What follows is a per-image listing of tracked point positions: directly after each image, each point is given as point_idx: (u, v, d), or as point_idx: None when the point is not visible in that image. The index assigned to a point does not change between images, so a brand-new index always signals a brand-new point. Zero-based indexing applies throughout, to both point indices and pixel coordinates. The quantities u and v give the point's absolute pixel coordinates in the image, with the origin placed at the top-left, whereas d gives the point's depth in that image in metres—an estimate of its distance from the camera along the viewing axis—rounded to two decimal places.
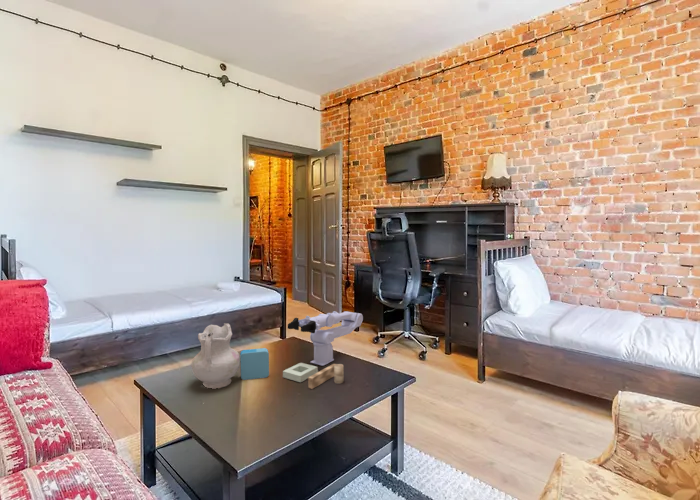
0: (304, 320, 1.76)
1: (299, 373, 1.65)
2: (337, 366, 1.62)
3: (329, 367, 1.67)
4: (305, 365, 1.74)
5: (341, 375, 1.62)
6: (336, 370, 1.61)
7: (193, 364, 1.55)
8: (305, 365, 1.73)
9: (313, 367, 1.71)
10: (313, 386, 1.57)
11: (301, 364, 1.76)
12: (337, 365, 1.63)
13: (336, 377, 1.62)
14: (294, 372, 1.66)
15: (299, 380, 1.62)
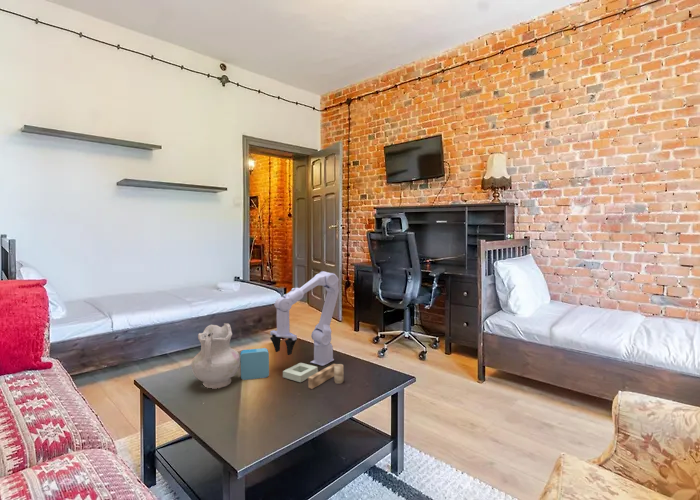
0: None
1: (299, 373, 1.65)
2: (337, 366, 1.62)
3: (329, 367, 1.67)
4: (305, 365, 1.74)
5: (341, 375, 1.62)
6: (336, 370, 1.61)
7: (193, 364, 1.55)
8: (305, 365, 1.73)
9: (313, 367, 1.71)
10: (313, 386, 1.57)
11: (301, 364, 1.76)
12: (337, 365, 1.63)
13: (336, 377, 1.62)
14: (294, 372, 1.66)
15: (299, 380, 1.62)
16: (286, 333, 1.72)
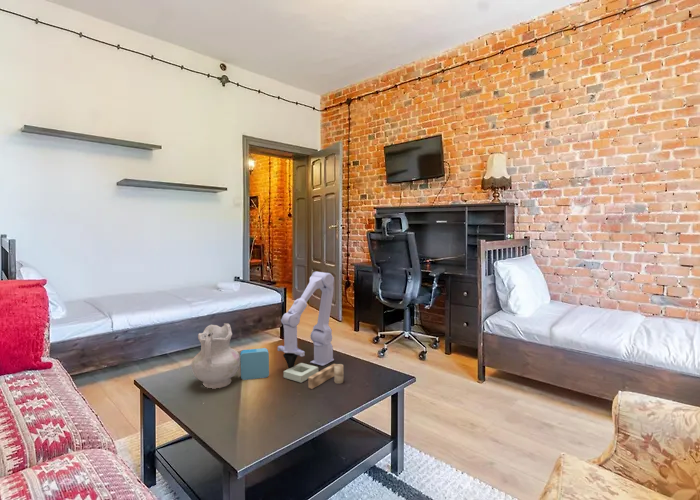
0: None
1: (300, 373, 1.64)
2: (337, 366, 1.62)
3: (329, 367, 1.67)
4: (306, 365, 1.74)
5: (341, 375, 1.62)
6: (336, 370, 1.61)
7: (193, 364, 1.55)
8: (306, 366, 1.73)
9: (314, 368, 1.71)
10: (313, 386, 1.57)
11: (302, 364, 1.75)
12: (337, 365, 1.63)
13: (336, 377, 1.62)
14: (295, 372, 1.66)
15: (300, 380, 1.62)
16: (294, 349, 1.70)
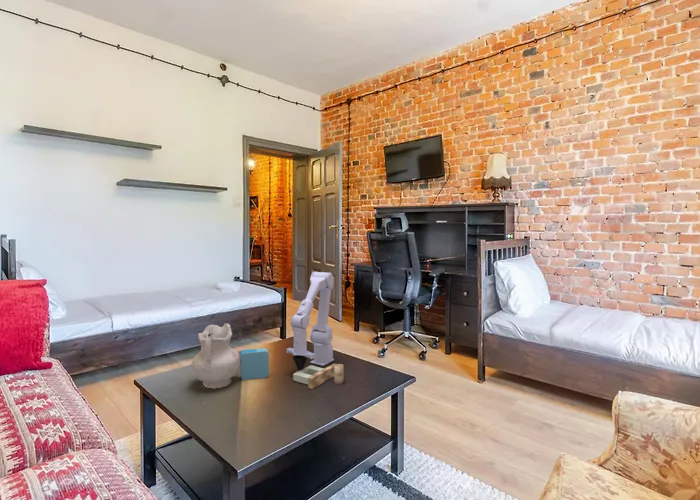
0: None
1: None
2: (337, 366, 1.62)
3: (329, 367, 1.67)
4: (315, 368, 1.71)
5: (341, 375, 1.62)
6: (336, 370, 1.61)
7: (193, 364, 1.55)
8: (316, 368, 1.70)
9: None
10: (313, 386, 1.57)
11: (311, 366, 1.72)
12: (337, 365, 1.63)
13: (336, 377, 1.62)
14: (305, 375, 1.63)
15: None
16: (303, 351, 1.67)
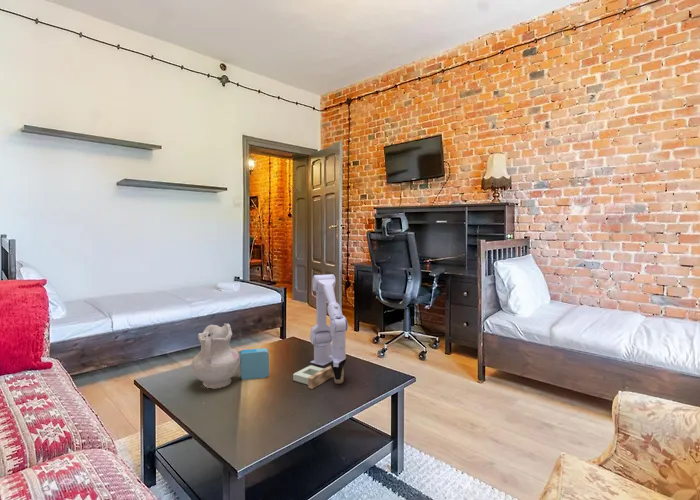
0: None
1: None
2: None
3: (329, 367, 1.67)
4: (315, 368, 1.71)
5: (341, 375, 1.62)
6: None
7: (193, 364, 1.55)
8: (316, 368, 1.70)
9: None
10: (313, 386, 1.57)
11: (311, 366, 1.72)
12: None
13: None
14: (305, 375, 1.63)
15: None
16: (335, 357, 1.60)
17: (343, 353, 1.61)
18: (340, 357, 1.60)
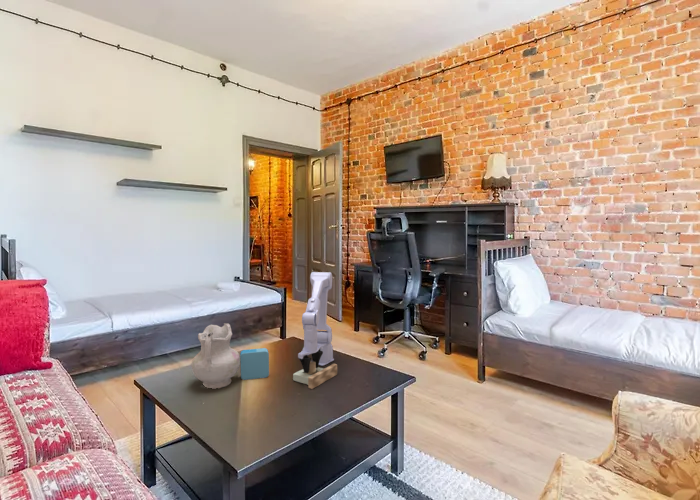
0: None
1: None
2: None
3: (329, 367, 1.67)
4: None
5: (311, 372, 1.64)
6: None
7: (193, 364, 1.55)
8: (316, 368, 1.70)
9: None
10: (313, 386, 1.57)
11: None
12: (310, 362, 1.67)
13: None
14: (305, 375, 1.63)
15: None
16: (305, 349, 1.64)
17: (312, 346, 1.63)
18: (309, 350, 1.63)
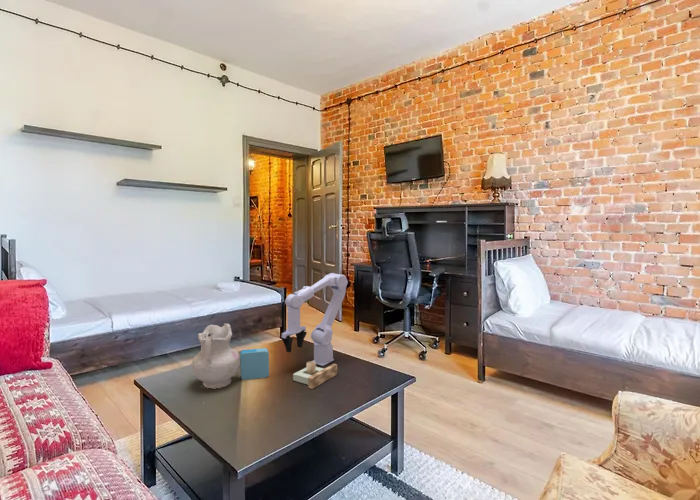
0: None
1: None
2: (309, 363, 1.66)
3: (329, 367, 1.67)
4: None
5: (311, 372, 1.65)
6: (307, 367, 1.65)
7: (193, 364, 1.55)
8: (316, 368, 1.70)
9: None
10: (313, 386, 1.57)
11: None
12: (310, 362, 1.67)
13: None
14: (305, 375, 1.63)
15: None
16: (288, 330, 1.74)
17: (295, 327, 1.73)
18: (292, 330, 1.73)
